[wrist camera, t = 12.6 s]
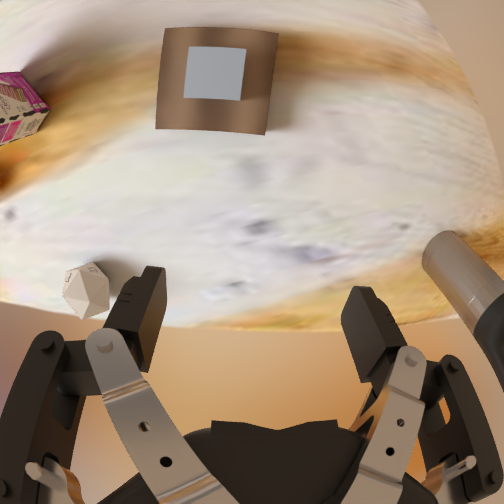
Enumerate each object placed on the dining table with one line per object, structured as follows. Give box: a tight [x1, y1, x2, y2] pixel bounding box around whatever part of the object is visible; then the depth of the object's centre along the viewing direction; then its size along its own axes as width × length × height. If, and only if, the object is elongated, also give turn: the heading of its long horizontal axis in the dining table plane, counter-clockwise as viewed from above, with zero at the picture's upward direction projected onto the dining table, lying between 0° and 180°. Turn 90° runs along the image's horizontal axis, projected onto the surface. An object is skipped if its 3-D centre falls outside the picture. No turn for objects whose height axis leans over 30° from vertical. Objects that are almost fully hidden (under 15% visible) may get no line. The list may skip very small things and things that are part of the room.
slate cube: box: [183, 47, 246, 101], centre depth 22 cm, size 5×5×5 cm
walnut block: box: [155, 27, 279, 135], centre depth 26 cm, size 12×12×4 cm
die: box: [62, 262, 110, 320], centre depth 37 cm, size 8×9×10 cm
